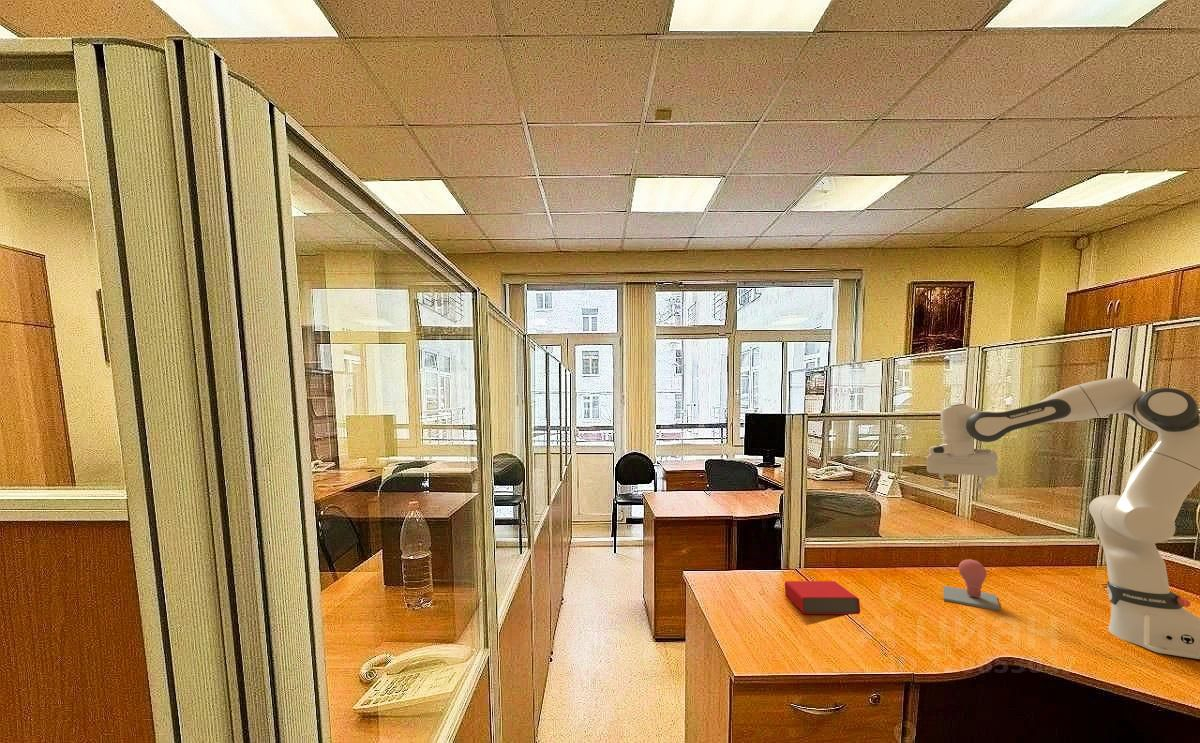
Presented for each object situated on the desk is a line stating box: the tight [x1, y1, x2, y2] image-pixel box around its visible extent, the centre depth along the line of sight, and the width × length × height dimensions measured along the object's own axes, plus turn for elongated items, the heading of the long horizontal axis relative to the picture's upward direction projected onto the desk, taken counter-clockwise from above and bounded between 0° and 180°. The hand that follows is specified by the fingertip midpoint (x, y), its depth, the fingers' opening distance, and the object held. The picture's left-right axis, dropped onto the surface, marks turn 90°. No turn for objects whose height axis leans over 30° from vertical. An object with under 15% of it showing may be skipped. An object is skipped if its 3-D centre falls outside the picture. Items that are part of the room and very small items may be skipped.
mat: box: [942, 585, 1001, 612], centre depth 147 cm, size 14×14×1 cm
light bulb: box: [958, 558, 987, 597], centre depth 147 cm, size 7×7×12 cm
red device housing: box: [784, 580, 861, 615], centre depth 145 cm, size 18×14×5 cm
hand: (962, 487), depth 159 cm, fingers open, 8 cm apart
